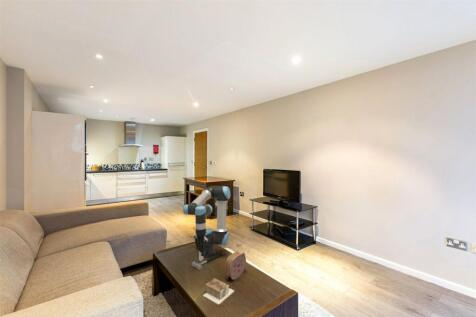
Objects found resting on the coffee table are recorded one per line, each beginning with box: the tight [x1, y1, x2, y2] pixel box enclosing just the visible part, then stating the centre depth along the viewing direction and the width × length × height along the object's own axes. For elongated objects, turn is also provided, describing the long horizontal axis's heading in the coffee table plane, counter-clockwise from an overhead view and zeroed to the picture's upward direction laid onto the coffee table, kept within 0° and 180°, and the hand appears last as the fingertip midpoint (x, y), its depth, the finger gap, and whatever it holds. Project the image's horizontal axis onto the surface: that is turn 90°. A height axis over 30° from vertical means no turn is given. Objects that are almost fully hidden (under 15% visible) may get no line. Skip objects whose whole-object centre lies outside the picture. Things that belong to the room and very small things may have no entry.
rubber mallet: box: [191, 252, 223, 271], centre depth 183 cm, size 10×4×30 cm
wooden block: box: [205, 277, 230, 299], centre depth 141 cm, size 9×5×13 cm
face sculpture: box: [224, 251, 247, 281], centre depth 161 cm, size 20×7×17 cm, turn 144°
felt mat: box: [202, 288, 235, 306], centre depth 140 cm, size 16×14×1 cm
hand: (201, 259), depth 151 cm, fingers closed
